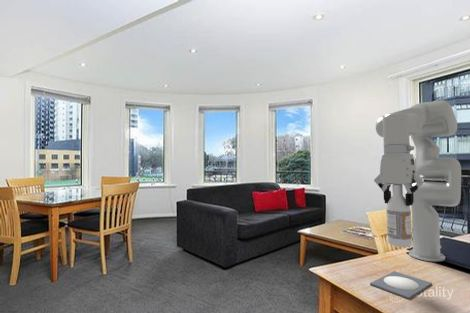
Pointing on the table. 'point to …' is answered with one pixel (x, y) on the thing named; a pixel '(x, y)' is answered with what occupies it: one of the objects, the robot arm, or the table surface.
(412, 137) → the robot arm
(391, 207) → the bath foam
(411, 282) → the rubber mat
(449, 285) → the table surface
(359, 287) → the table surface
